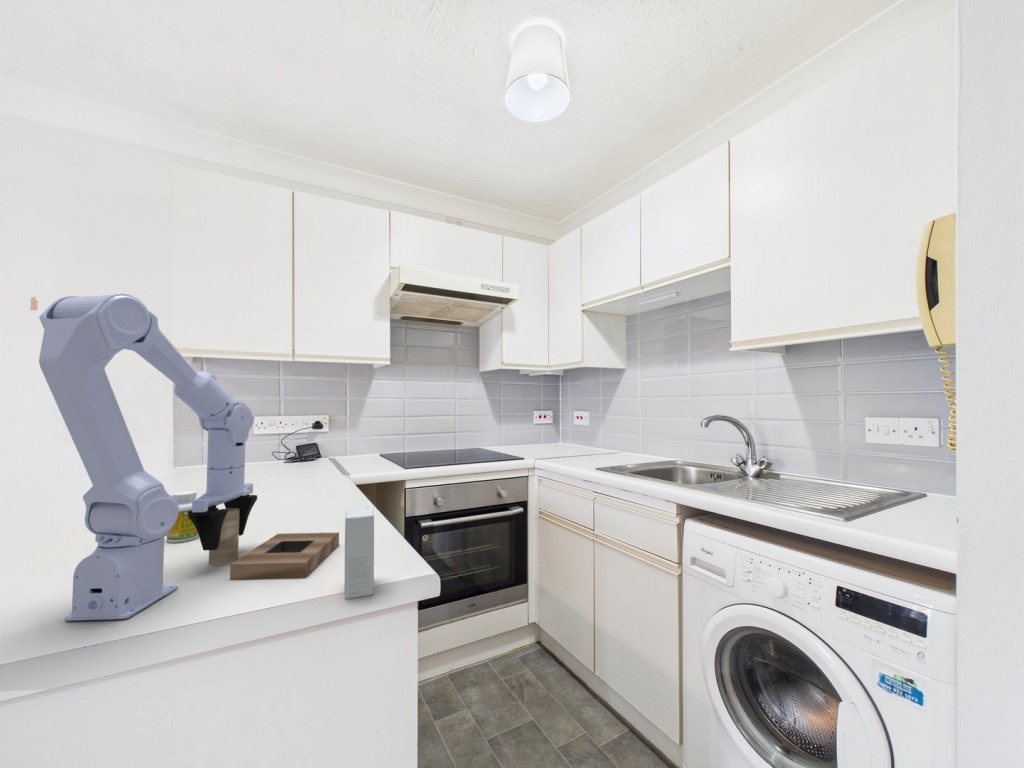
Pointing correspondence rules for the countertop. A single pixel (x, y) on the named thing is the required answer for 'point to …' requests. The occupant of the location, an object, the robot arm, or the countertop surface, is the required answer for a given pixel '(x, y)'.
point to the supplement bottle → (183, 519)
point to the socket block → (285, 556)
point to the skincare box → (359, 552)
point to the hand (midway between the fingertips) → (224, 542)
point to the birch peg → (227, 540)
